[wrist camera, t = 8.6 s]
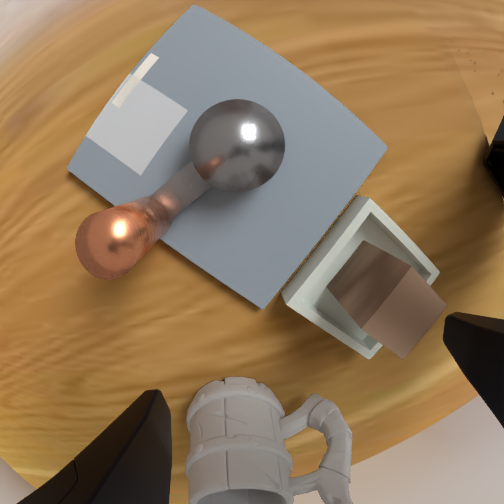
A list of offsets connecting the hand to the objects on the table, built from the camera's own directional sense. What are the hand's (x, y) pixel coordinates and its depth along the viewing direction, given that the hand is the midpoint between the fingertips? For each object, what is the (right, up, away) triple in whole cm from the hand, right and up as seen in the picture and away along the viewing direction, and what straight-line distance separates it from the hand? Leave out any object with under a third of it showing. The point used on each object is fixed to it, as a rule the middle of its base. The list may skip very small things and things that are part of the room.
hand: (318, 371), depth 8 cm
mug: (-1, -9, +15) cm, 17 cm away
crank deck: (-3, +10, +10) cm, 14 cm away
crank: (-5, +8, +9) cm, 13 cm away
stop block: (+6, +1, +12) cm, 13 cm away
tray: (+6, +2, +13) cm, 14 cm away
